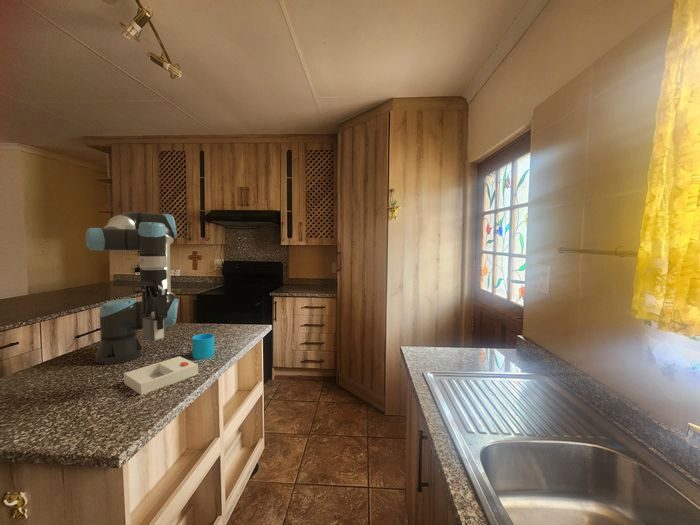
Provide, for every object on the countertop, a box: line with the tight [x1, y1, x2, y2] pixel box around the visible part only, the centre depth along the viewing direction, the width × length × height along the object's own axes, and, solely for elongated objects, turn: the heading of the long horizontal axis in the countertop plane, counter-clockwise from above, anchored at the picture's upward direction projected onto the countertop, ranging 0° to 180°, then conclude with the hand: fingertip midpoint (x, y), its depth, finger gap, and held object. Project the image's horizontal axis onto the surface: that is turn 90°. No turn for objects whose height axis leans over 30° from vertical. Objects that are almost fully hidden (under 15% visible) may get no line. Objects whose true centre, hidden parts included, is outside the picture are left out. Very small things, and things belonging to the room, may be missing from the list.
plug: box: [142, 312, 167, 342], centre depth 99 cm, size 5×5×9 cm
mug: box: [191, 333, 215, 360], centre depth 124 cm, size 12×8×8 cm
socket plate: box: [123, 355, 199, 396], centre depth 101 cm, size 13×18×4 cm
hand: (155, 336), depth 99 cm, fingers closed on plug, 5 cm apart
